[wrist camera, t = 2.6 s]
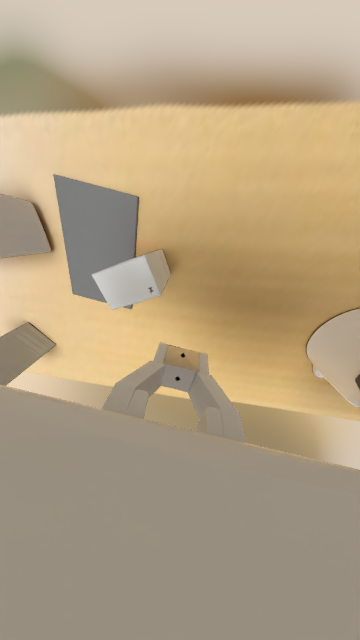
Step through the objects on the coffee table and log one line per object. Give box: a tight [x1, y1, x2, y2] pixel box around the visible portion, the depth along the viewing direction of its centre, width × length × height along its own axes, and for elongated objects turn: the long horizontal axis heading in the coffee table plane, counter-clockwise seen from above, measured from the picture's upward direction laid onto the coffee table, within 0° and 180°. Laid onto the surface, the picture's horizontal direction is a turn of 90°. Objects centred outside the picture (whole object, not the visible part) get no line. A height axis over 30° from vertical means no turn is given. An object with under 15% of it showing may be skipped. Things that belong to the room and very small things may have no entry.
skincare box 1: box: [0, 323, 56, 386], centre depth 32 cm, size 8×7×16 cm
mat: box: [53, 174, 139, 309], centre depth 25 cm, size 12×18×1 cm, turn 167°
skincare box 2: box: [92, 249, 171, 310], centre depth 20 cm, size 6×4×12 cm
